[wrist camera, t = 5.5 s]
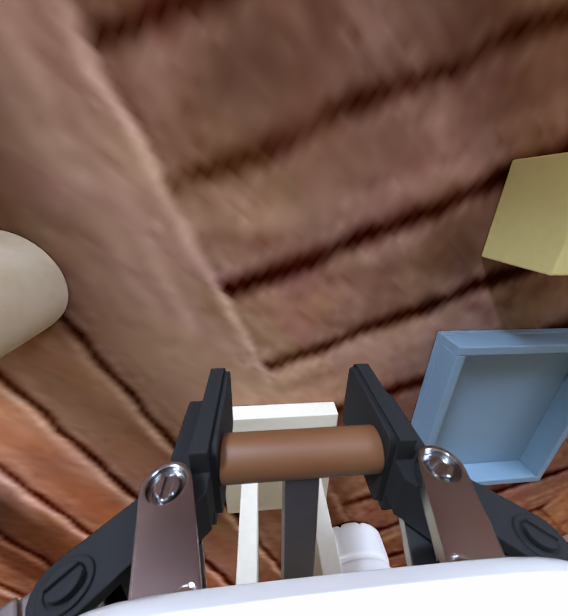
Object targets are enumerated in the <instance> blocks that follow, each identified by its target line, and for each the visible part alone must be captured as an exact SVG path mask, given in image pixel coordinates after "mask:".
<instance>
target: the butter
mask: <svg viewBox="0 0 568 616" xmlns="http://www.w3.org/2000/svg"><path fill="white" fill-rule="evenodd" d="M482 257H484V258H488V259H492V260H495V261H499V262H503V263H506V264H510V265H514V266H517V267H521V268H524V269H528V270H532V271H535V272H539V273H543V274H546V275H550V276H568V152H566V153H559V154H552V155H545V156H537V157H530V158H523V159H516V160H513V161H512V164H511V167H510V170H509V173H508V176H507V180H506V183H505V186H504V189H503V192H502V195H501V198H500V201H499V204H498V207H497V210H496V213H495V216H494V219H493V222H492V225H491V228H490V232H489V235H488V238H487V241H486V244H485V247H484V250H483V253H482Z"/></svg>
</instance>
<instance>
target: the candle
mask: <svg viewBox="0 0 568 616" xmlns="http://www.w3.org/2000/svg"><path fill="white" fill-rule="evenodd" d="M67 303H68V288H67V284H66V281H65V278H64V276H63V274H62V272H61V271H60V269H59V267H58V266H57V265H56V263H55V262H54V261H53V260H52V259H51V258H50V257H49V255H47V254H46V253H45V252H44V251H43V250H42V249H40V248H39V247H38V246H36V245H35V244H33V243H32V242H30V241H28V240H27V239H25V238H23V237H20V236H18V235H15V234H13V233H10V232H6V231H2V230H0V358H1V357H3V356H5V355H6V354H8V353H9V352H11V351H12V350H14V349H16V348H17V347H19V346H20V345H22V344H23V343H25V342H27V341H28V340H30V339H31V338H33V337H34V336H36V335H38V334H39V333H41V332H42V331H44V330H45V329H47V328H48V327H50V326H51V325H52V324H54V323H55V322H56V321H57V320H58V319H59V318H60V317H61V316H62V315H63V313H64V311H65V309H66V307H67Z"/></svg>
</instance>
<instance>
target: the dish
mask: <svg viewBox="0 0 568 616" xmlns="http://www.w3.org/2000/svg"><path fill="white" fill-rule="evenodd" d="M411 425H412V426H413V428H414V429H415V431H416V432H417V434H418V435H419V437H420V438H421V440H422V441H423V443H424V444H425V446H428V445H430V446H437V447H440V448H443V449H445V450H447V451H449V452H450V453H452V454H453V455H454V456H456V457H457V458H458V459H459V460H460V461H461V462H462V464H463V465H464V467H465V468H466V470H467V473H468V475H469V477H470V479H471V480H473V481H475V482H477V483H478V484H480V485H482V486H484V485H495V484H507V483H519V482H531V481H539V480H540V478H541V477H542V475H543V473H544V472H545V470H546V469H547V467H548V466H549V464H550V462H551V461H552V459H553V458H554V456H555V454H556V453H557V451H558V450H559V448H560V446H561V445H562V443H563V442H564V440H565V439H566V437H567V435H568V328H557V329H513V330H469V331H438V333H437V336H436V340H435V343H434V346H433V350H432V353H431V357H430V360H429V363H428V367H427V370H426V373H425V377H424V380H423V384H422V387H421V390H420V394H419V397H418V401H417V404H416V407H415V411H414V414H413V418H412V421H411Z"/></svg>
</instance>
